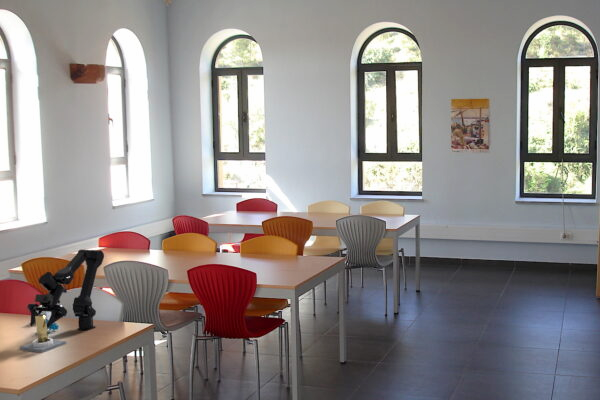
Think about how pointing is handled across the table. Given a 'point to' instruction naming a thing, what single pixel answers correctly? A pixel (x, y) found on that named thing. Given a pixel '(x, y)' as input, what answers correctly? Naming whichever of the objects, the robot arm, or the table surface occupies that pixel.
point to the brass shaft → (41, 328)
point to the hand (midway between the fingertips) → (39, 326)
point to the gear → (52, 326)
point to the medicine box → (46, 313)
